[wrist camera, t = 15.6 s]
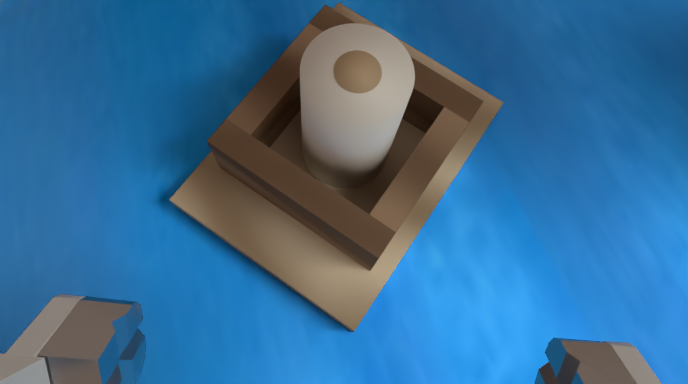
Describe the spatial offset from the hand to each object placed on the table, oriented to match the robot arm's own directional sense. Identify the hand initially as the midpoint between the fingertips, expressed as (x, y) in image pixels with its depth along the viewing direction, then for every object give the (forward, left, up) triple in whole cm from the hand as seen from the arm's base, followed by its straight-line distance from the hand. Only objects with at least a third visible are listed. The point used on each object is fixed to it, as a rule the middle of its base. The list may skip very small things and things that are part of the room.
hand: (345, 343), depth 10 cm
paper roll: (-10, -5, -16) cm, 19 cm away
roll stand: (-10, -5, -17) cm, 20 cm away
